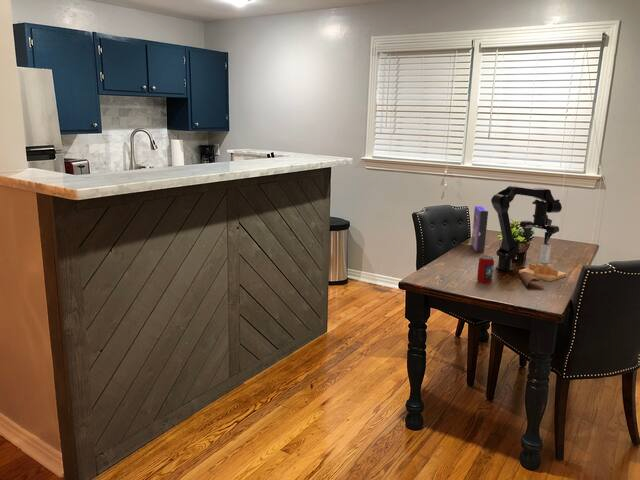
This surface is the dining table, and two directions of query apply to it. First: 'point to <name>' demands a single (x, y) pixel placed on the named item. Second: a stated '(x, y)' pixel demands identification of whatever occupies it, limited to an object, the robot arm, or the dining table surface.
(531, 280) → the sunglasses case
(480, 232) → the cereal box
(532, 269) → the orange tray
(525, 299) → the dining table surface
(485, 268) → the beverage can
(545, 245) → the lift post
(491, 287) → the dining table surface
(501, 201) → the robot arm
